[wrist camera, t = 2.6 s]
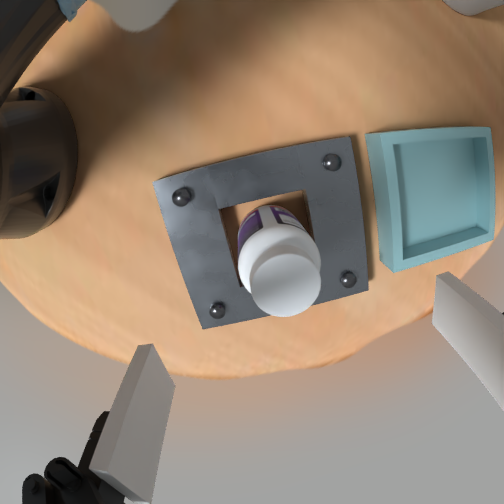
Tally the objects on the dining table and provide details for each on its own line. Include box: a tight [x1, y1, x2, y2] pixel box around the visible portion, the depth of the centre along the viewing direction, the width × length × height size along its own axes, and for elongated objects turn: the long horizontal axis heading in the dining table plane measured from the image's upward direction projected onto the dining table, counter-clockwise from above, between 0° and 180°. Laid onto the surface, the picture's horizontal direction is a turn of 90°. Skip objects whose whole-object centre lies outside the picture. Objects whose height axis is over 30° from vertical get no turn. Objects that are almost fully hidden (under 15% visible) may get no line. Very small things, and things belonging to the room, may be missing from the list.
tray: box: [365, 126, 495, 273], centre depth 22 cm, size 14×12×3 cm
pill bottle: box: [238, 205, 321, 317], centre depth 20 cm, size 5×5×10 cm
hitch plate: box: [153, 137, 369, 329], centre depth 24 cm, size 16×14×2 cm
